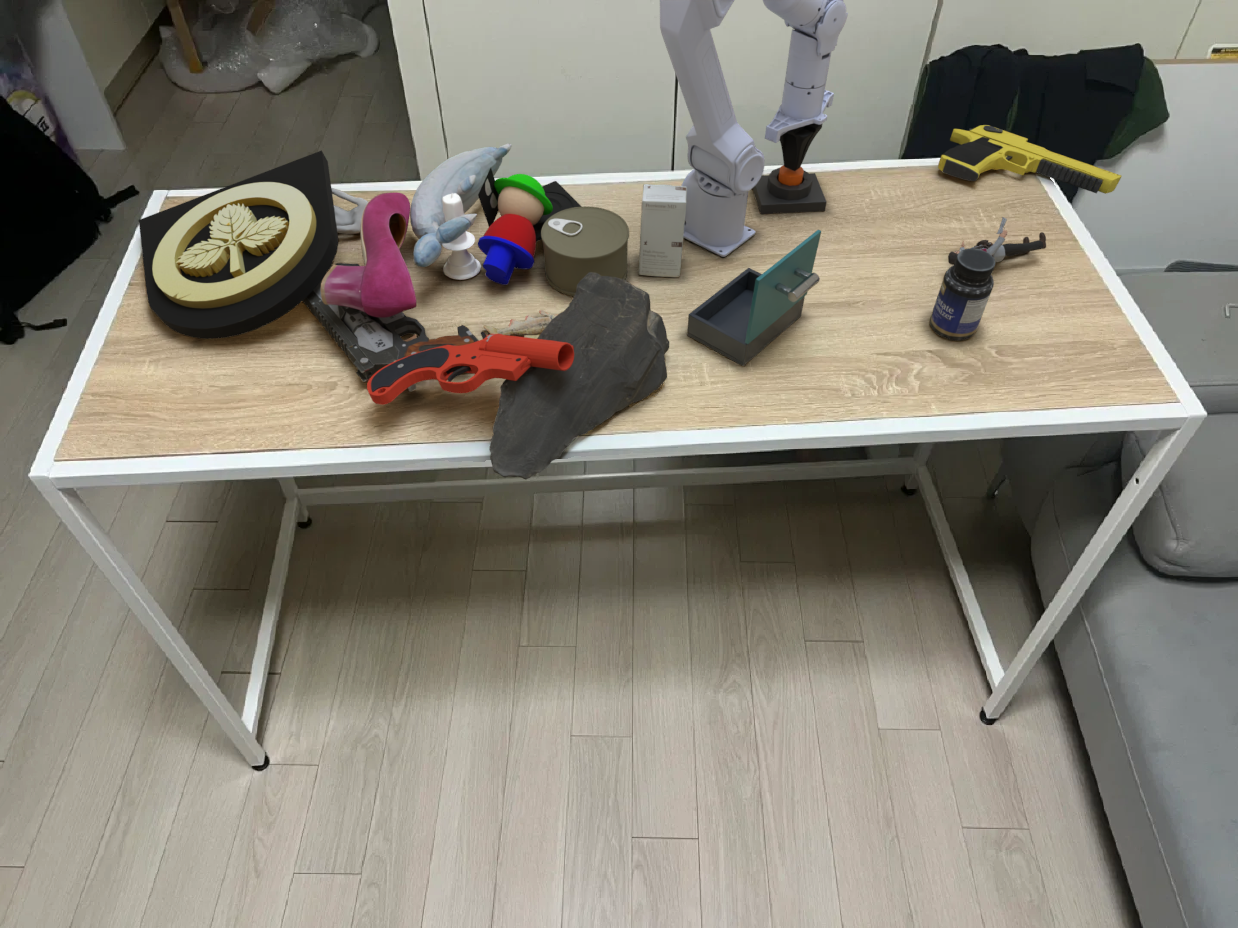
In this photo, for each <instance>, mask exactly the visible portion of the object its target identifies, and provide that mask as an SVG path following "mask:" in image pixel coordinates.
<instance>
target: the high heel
mask: <svg viewBox="0 0 1238 928" xmlns="http://www.w3.org/2000/svg"><path fill="white" fill-rule="evenodd" d="M410 209H411V202H410V199H409V197H407V195H406V194H404V193H402V192H396V191H395V192H382V193H379V194H376V195H375V196H373V197H372V198H371V199H370V200H369V201H368V203H367V205H366V207H365V209H364V211H363V214H362V218H361V232H360V244H361V245H360V247H361V255H362V261H363V265H360V266H341V265H334V264H335V263H332V265H333V266H332V267H331V268H330V269H329V270H328V272H327V273H326V275H325V276H324V278H323V280H322V283H321V297H322V301H323V303H324V304H325V305H339V306H346V307H350V308H354V309H358V310H361V311H363V312H366V313H367V314H368V315H370V316H374V317H380V318H386V317H391V316H393V315H396V314H398V313H401V312H403V313H404V312H406V311H409V310H412V309H416V308H417V297H416V291H415V287H414V284H413V280H412V276H411V274H410V271H409V269H408V266H407V263H406V262H405V259H404V257H403V255H402V253H401V250H400V249H402V246H403V244H404V241H405V239H406V236H407V232H408V229H409V222H410Z"/></svg>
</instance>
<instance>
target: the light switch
mask: <svg viewBox="0 0 1238 928" xmlns="http://www.w3.org/2000/svg"><path fill="white" fill-rule="evenodd" d="M541 186H542V187H543V189H544V192H545V196H546V197H547V198H548V199H549V201H550V202H551V204H552V206H553V211H552V212H551V213H550V214H548V215H542V217H541V218H540V220H539V221H538V222H537V223H536V224H535V225H533V228H534V230H535V235H536V243H537V242H539V241H542V238H541V230H542V227H543V225H544V223H545V222H546V220H547V219H549V218H550V217H551V216H552V215H554V214H556V213H558V212H560V211H562V210H565V209H569V208H574V207H583V206H582V205H581V204H580V203H579V202H578V201H577V200H576V199H575V198H574V197H573V196H572V195H571V194H570V193H569V192H568V191H567V190H566V188H564V187H563V186H562V185H561V184H560V183H559V181H556V180H554V181H551V182H549V183H546V184H544V185H541Z"/></svg>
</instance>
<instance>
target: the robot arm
mask: <svg viewBox="0 0 1238 928" xmlns="http://www.w3.org/2000/svg"><path fill="white" fill-rule="evenodd" d="M734 2H735V0H659V29H660V34H661V36H662V39H663V42H664V45H665V48H666V50H667V53H668V57H669V59H670V61H671V65H672V68H673V71H674V73H675V76H676V79H677V82H678V85H679V88H680V91H681V93H682V96H683V99H684V103H685V105H686V108H687V111H688V113H689V117H690V119H691V122H692V126H691V128H690V129H689V130H688V132H687V133H686V135H685V139H686V142H687V162H688V164H689V166H690V167H691V168H692V170H691V171H690V172H689V173H688V174H687V175H686V176H685V178H684V179H683V182H682V183H681V186H685V187H687V198H686V213H685V223H684V235H683V239H686V240H687V241H689V242H691V243H693V244H695V245H698V246H699V247H702V248H703V249H705V250H707V251H709V252H712V253H713V254H716V255H718V256H720V257H722V258H726V257H727V256H728V255H730V254H731V253H733V252H734V251H735V250H736V249H738V248H739V247H740V246H741V245H743V244H744V243H746V242H747V241H749V239H751V238H753V236H755V235H756V230H755V229H754V228H751V227H749V226H746V225H745V223H746V215H747V207H748V206H747V205H748V199H749V198H748V197H749V192H750V191H751V190H752V188H753V187H754V186H755V185H756V184H757V183H758V181H759V180H760V178H761V176H763V174H764V171H765V162H766V159H765V155H764V153H763V152H762V150H761V149H758V148H757V147H756V143H755V140H754V139H753V137H751V135H749V133H748V132H747V131H746V130H745V129H744V128H743V127H742V125H740V124H739V122H738V120H737V117H736V113H735V110H734V106H733V104H732V100H731V97H730V92H729V89H728V86H727V83H726V79H725V76H724V71H723V68H722V65H721V62H720V58H719V55H718V51H717V48H716V45H715V41H714V37H713V35H712V31H711V29H715V28H717V27H719V26H721V24H722V23H723V20H724V19H725V18H726V15H727V14H728V12H729V10H730V9H731V7H732V5H733V4H734ZM762 2H763V4H764V6H765V8H766V9H767V10H769V11H770V12H772V13H773V14H775V15H776V16H778V17H779V18H781V19H782V20H783V22H784V24H785V26H786V28H788V27H790V28H792V29H791V34H790V39H789V41H790V42H789V49H788V54H787V55H788V56H787V62H786V70H785V77H784V84H783V91H782V98H781V104H779V106H778V109H777V111H776V112H775V114H774V116H773V118H772V120H771V121H770V122H769V123H768V124H767V125H766V126H765V133H764V139H765V140H767V141H769V142H771V143H775V144H778V143H780V146H781V152H782V160H783V165H784V167H786V168H788V169H791V170H793V171H796V170H797V169H799V168H800V166H801V167H802V165H803V162H804V160H805V158H806V155H807V154H808V153H807V152H808V151H809V149H810V146H811V144H812V142H813V141H814V139H815V137H816V136H817V135H818V133H819V132H820V131H821V130H822V128H823V124H824V123H825V122H827V120H828V115H827V114H826V113H824V112H825V111H826V109H827V108H831V107H832V106H833V102H834V96H835V93H834V92H833V91H830V90H828V89H826V85H827V79H828V74H829V67H830V64H831V63H830V62H831V57H832V52H834V51H835V50H836V46H838V40H839V36H840V34H841V32H842V30H843V29H844V27H845V24H846V22H847V19H848V16H849V12H847V6H846V3H845V1H844V0H762Z"/></svg>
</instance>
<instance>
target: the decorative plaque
mask: <svg viewBox="0 0 1238 928" xmlns="http://www.w3.org/2000/svg"><path fill="white" fill-rule="evenodd" d="M327 159H328V158H327V157H326V156H325V154H324V152H323V151H322V150H319V151H317V152H314V153H311V154H309V155H306V156H303V157H301V158H298V159H295V160H293V161H290V162H287V163H285V164H282V165H279V166H277V167H273V168H271V169H268V170H266V171H264V172H262V173H258V174H256V175H253V176H251V177H249V178H245V179H243V180H240V181H237V182H235V183H233V184H230V185H227V186H224V187H221V188H219V189H216V190H214V191H211V192H209V193H206V194H204V195H201V196H198V197H195V198H193V199H190V200H188V201H185V202H181V203H180V204H177V205H174V206H171V207H169V208H166V209H164V210H161V211H158V212H156V213H154V214H151V215H148V216H146V217H143V218H140V219H138V227H139V234H140V236H139V237H140V245H141V252H142V253H141V254H142V264H143V271H144V280H145V281H144V282H145V291H146V297H147V302H148V305H149V307H150V309H151V310H152V312H153V313H154V314H155V315H156V316H157V317H158V318H159V319H160V321H161V322H162V323H163V324H164V325H165V326H166V327H168V328H169V329H170V330H172V331H174V332H175V333H178V334H180V335H183V336H185V337H190V338H194V339H195V338H196V339H202V340H213V339H214V340H217V339H225V338H231V337H232V338H233V337H237V336H240V335H244V334H246V333H250V332H252V331H255V330H258V329H260V328H262V327H265V326H267V325H269V324H271V323H273V322H274V321H277V320H278V319H280V318H281V317H283V316H285V315H286V314H288V313H289V312H290V311H292V310H293V309H294V308H296V307H297V306H298V305H299V304H301V303H303V302H302V301H303V300H304V299H305V298H306V297H307V296H308V295H309V294H310V293H311V292H312V291H313V290H314V289H315V288H316V287H317V285H318V284H319V283H320V282H321V280H322V279H323V278H324V276H325V275H326V273H327V272H328V271H329V270H330V269H329V268H330V266H331V265H333V264H334V263H333V262H334V260H335V258H336V256H337V252H338V246H339V236H338V234H339V233H337V226H336V218H335V211H334V205H335V203H334V197H333V194H332V189H331V188H332V181H331V176H330V175H331V174H330V167H329V161H328V160H327Z"/></svg>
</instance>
